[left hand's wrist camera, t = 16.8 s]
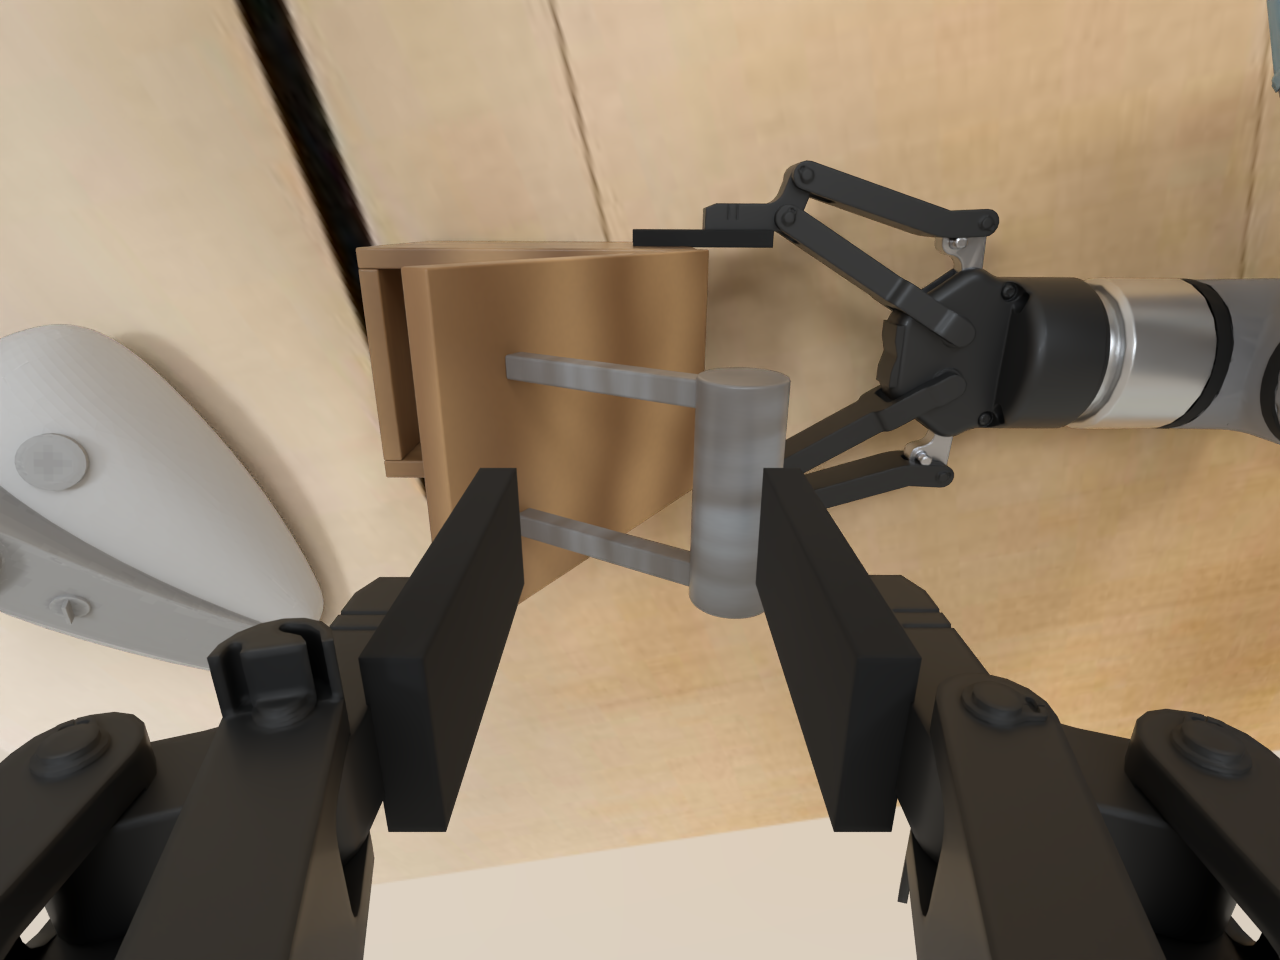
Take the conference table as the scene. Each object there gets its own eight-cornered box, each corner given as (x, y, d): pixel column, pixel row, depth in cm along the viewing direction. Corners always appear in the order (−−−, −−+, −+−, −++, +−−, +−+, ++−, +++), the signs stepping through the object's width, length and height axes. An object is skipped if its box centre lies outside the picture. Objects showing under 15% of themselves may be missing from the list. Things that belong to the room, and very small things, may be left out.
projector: (21, 629, 48) (-226, 791, 35) (-66, 297, 40) (-432, 336, 27) (336, 656, 49) (217, 824, 35) (313, 334, 41) (146, 390, 27)
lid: (441, 632, 20) (716, 748, 16) (399, 266, 17) (742, 284, 12) (682, 480, 32) (878, 522, 28) (689, 249, 28) (915, 255, 24)
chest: (446, 416, 43) (385, 478, 32) (429, 241, 39) (354, 247, 29) (677, 417, 43) (690, 478, 32) (682, 242, 39) (698, 249, 29)
